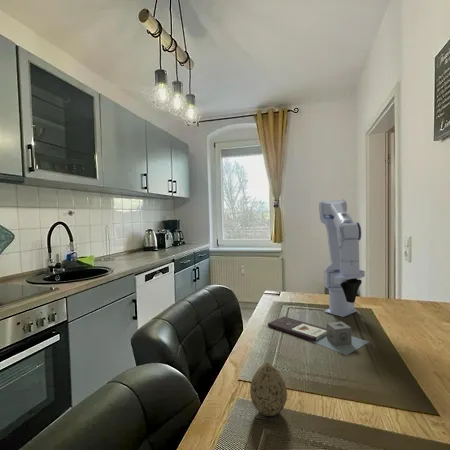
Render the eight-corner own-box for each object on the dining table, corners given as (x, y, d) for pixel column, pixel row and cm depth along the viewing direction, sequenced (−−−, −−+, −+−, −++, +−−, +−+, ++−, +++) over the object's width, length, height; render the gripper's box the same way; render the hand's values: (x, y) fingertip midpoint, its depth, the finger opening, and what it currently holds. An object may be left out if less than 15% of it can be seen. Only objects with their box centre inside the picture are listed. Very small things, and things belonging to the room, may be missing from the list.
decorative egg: (280, 398, 62) (278, 353, 62) (293, 422, 55) (291, 371, 55) (247, 404, 61) (245, 357, 61) (256, 428, 54) (254, 376, 53)
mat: (333, 330, 96) (333, 329, 96) (369, 342, 86) (369, 341, 86) (310, 341, 89) (310, 340, 89) (346, 355, 79) (346, 355, 79)
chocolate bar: (283, 316, 107) (329, 329, 94) (284, 318, 107) (329, 332, 94) (267, 323, 101) (313, 338, 88) (268, 326, 101) (313, 341, 88)
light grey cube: (351, 344, 85) (351, 327, 85) (335, 346, 84) (335, 329, 84) (342, 337, 90) (341, 321, 90) (327, 339, 89) (326, 323, 89)
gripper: (348, 265, 86) (349, 310, 87) (373, 258, 95) (374, 299, 96) (327, 262, 92) (329, 304, 93) (353, 256, 101) (354, 295, 101)
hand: (350, 301), depth 95 cm, fingers closed
